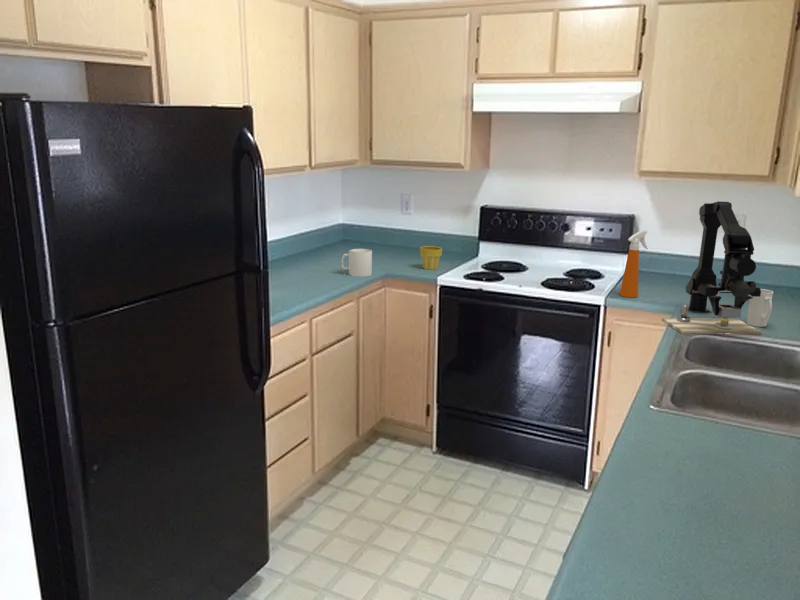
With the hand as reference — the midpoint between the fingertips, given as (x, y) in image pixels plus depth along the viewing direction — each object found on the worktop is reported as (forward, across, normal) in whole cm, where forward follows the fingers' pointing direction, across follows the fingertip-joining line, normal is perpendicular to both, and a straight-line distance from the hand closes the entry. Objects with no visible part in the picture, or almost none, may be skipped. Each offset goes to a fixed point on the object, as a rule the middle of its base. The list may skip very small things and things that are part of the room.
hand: (725, 315), depth 219 cm
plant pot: (+6, -89, +97) cm, 132 cm away
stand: (+5, -10, +8) cm, 14 cm away
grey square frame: (0, 0, 0) cm, 0 cm away
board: (+5, -3, +3) cm, 7 cm away
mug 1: (+6, -123, +83) cm, 149 cm away
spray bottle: (+6, -12, +48) cm, 50 cm away
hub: (+4, 0, 0) cm, 4 cm away
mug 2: (+5, +16, +6) cm, 18 cm away
